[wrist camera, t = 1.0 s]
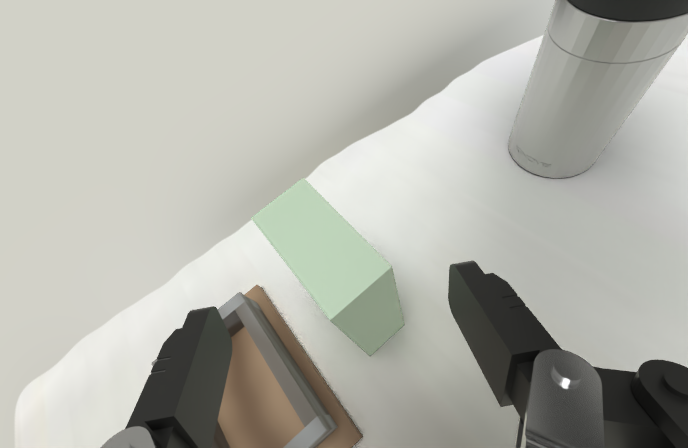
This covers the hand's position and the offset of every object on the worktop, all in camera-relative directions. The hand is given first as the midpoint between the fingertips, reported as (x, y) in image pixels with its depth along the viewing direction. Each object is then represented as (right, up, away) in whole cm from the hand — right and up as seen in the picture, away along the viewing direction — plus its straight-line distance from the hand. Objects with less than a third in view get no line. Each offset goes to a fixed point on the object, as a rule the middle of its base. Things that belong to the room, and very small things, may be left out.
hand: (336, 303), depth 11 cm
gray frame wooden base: (-8, -14, +20) cm, 26 cm away
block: (+2, -6, +23) cm, 23 cm away
